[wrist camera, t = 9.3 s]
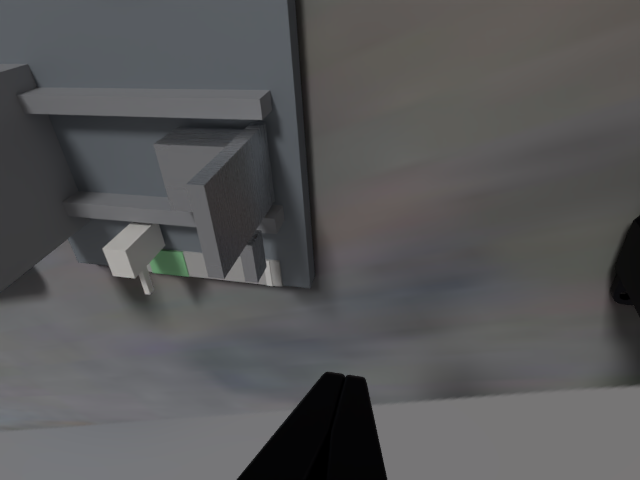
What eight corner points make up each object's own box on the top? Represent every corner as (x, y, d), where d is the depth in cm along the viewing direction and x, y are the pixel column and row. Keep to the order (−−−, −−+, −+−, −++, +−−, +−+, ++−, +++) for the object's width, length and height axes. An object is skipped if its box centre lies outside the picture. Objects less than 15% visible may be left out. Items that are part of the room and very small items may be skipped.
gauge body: (292, -32, 16) (208, -16, 10) (314, 276, 23) (274, 382, 18) (-23, -16, 19) (-224, 3, 13) (89, 252, 26) (-7, 336, 21)
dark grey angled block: (265, 122, 18) (203, 185, 13) (281, 251, 21) (236, 336, 17) (176, 119, 19) (89, 178, 14) (205, 244, 22) (143, 323, 18)
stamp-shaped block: (157, 219, 22) (125, 250, 20) (174, 275, 24) (146, 310, 22) (136, 217, 22) (102, 248, 20) (154, 273, 24) (125, 307, 22)
